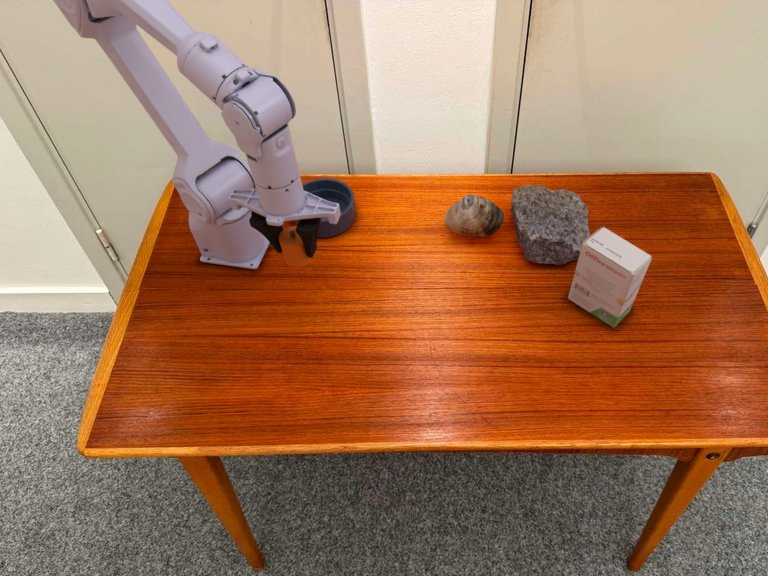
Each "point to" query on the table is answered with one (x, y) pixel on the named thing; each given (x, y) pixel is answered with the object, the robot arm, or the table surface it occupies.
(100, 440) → the table surface
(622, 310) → the ink box
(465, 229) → the seashell
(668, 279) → the table surface
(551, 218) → the rock
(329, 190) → the bowl
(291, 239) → the squash
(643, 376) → the table surface
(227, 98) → the robot arm
